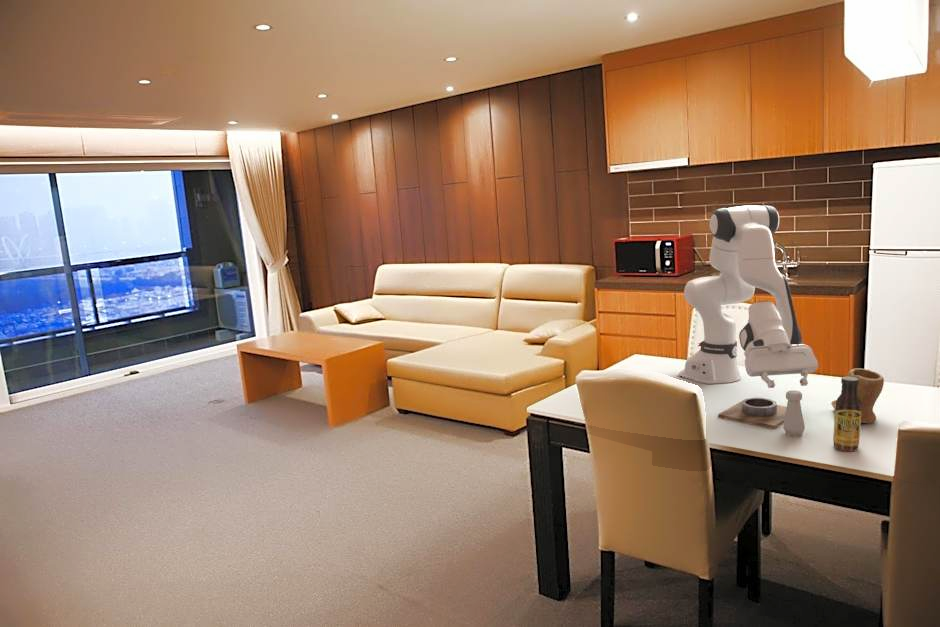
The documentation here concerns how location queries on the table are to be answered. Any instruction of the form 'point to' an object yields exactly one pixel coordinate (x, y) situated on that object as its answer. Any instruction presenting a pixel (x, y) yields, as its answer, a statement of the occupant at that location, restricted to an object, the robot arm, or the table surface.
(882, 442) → the table surface
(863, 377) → the stone cup
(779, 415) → the keeper plate
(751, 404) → the keeper collar
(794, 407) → the salt shaker
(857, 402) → the sauce bottle
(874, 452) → the table surface
